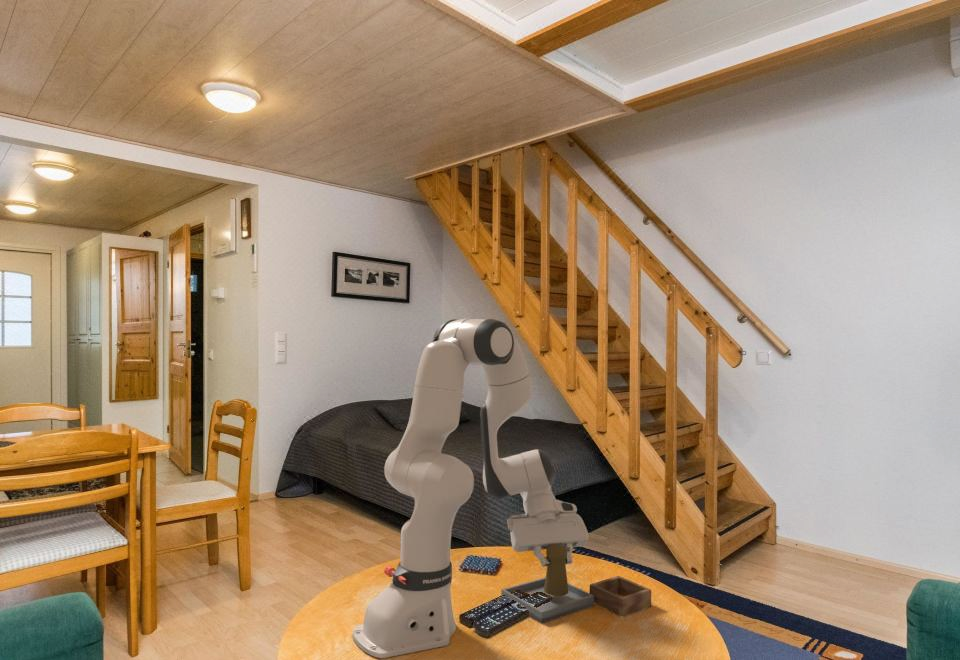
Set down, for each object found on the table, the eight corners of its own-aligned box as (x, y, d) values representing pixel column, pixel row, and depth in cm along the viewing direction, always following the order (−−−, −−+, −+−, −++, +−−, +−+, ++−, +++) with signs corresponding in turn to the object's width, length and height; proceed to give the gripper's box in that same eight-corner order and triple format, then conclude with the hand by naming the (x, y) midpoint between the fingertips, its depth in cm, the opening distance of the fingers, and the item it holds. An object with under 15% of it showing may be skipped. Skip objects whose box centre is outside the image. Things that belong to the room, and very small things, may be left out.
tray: (541, 623, 133) (541, 612, 133) (501, 599, 145) (501, 589, 145) (593, 605, 143) (594, 595, 143) (552, 585, 155) (552, 575, 155)
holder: (622, 617, 137) (622, 599, 137) (589, 600, 146) (589, 584, 146) (651, 606, 143) (651, 589, 143) (618, 591, 152) (618, 575, 152)
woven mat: (495, 577, 160) (495, 570, 160) (458, 573, 163) (458, 566, 163) (503, 564, 170) (503, 557, 171) (467, 560, 173) (468, 553, 173)
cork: (570, 596, 141) (570, 550, 142) (544, 595, 141) (545, 549, 142) (566, 586, 147) (567, 542, 148) (542, 585, 147) (543, 541, 148)
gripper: (508, 509, 148) (521, 562, 139) (581, 504, 154) (598, 554, 145) (502, 522, 153) (514, 574, 143) (573, 516, 159) (590, 566, 149)
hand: (557, 564), depth 144 cm, fingers closed on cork, 5 cm apart
